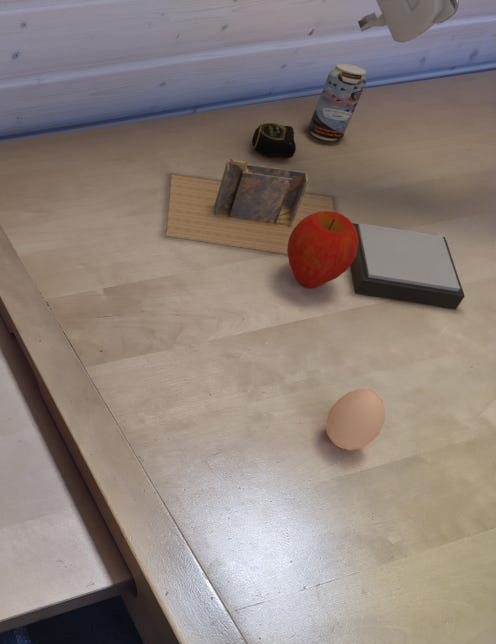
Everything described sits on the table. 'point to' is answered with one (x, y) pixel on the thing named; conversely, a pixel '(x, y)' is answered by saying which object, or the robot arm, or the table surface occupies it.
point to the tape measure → (274, 141)
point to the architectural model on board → (243, 207)
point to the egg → (355, 419)
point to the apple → (321, 248)
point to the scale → (405, 267)
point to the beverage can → (337, 101)
